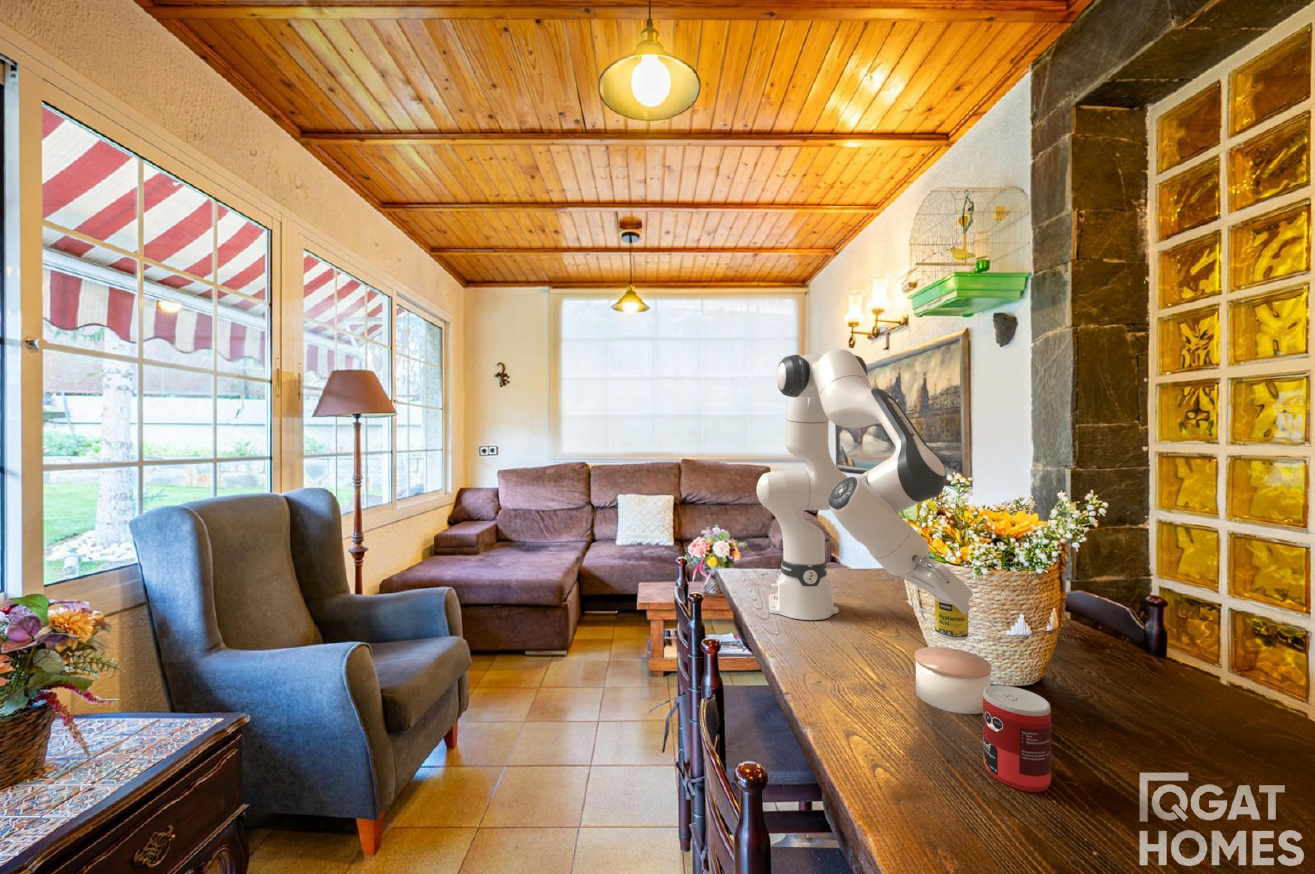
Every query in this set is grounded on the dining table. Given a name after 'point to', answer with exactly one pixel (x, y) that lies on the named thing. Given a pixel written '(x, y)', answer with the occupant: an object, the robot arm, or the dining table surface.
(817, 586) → the robot arm
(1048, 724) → the canned food
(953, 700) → the ceramic canister
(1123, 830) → the dining table surface
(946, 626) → the supplement bottle
